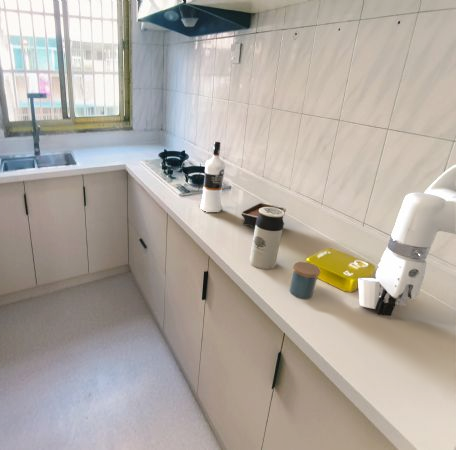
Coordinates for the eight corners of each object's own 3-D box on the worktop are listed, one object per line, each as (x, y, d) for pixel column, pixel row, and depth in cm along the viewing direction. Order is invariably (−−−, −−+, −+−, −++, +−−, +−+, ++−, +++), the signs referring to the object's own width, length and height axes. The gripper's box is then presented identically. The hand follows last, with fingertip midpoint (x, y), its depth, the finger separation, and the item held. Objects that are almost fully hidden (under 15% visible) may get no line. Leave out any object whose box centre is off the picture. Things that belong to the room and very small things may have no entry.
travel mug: (264, 255, 113) (273, 205, 106) (280, 267, 107) (291, 214, 99) (244, 259, 110) (252, 208, 103) (260, 271, 104) (270, 217, 96)
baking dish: (234, 230, 136) (236, 208, 131) (259, 213, 146) (262, 193, 141) (265, 245, 127) (269, 222, 122) (290, 226, 137) (294, 205, 132)
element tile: (326, 257, 113) (329, 245, 111) (373, 278, 102) (378, 264, 100) (301, 270, 105) (304, 257, 103) (349, 294, 94) (354, 279, 92)
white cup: (353, 305, 88) (354, 278, 88) (362, 302, 92) (362, 276, 92) (384, 311, 83) (384, 282, 83) (391, 307, 87) (392, 280, 87)
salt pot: (309, 287, 97) (315, 262, 94) (316, 301, 91) (323, 275, 88) (285, 285, 97) (291, 260, 94) (291, 298, 91) (297, 273, 88)
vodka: (210, 204, 157) (217, 139, 145) (225, 211, 150) (233, 142, 138) (195, 208, 152) (201, 140, 140) (210, 215, 145) (217, 144, 133)
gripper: (447, 266, 69) (416, 336, 76) (407, 235, 82) (383, 297, 90) (408, 262, 70) (381, 332, 77) (374, 232, 83) (354, 294, 91)
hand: (382, 313), depth 83 cm, fingers closed
